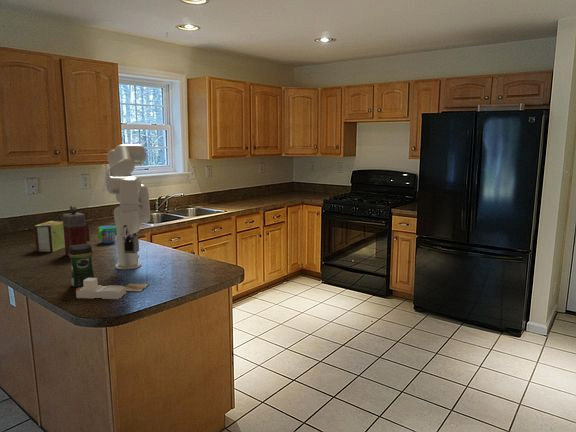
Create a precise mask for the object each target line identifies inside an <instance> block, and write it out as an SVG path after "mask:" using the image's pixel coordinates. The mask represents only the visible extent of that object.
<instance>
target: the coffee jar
mask: <svg viewBox="0 0 576 432" xmlns="http://www.w3.org/2000/svg"><path fill="white" fill-rule="evenodd" d="M93 254H94V253H93V248H92V245H91V244H90V243H87V244H79V245H72V246H70V247H69V256H68V257H69V259H70V262H71V265H70V266H71V272H70V274H71V276H70V278H71V279H70V280H71V282H70V283H71V286H72V287H74V288H82V287H83V280H85V279H87V278H96V277H95V273H94V267H93V263H92V262H93V261H92V256H93Z"/></svg>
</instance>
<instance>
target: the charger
mask: <svg viewBox="0 0 576 432" xmlns="http://www.w3.org/2000/svg"><path fill="white" fill-rule="evenodd" d="M127 237H129V236H127ZM132 242H133V251H125V242H124V252H125V253H136V252H140V242H139V235H132Z"/></svg>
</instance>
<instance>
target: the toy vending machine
mask: <svg viewBox="0 0 576 432" xmlns="http://www.w3.org/2000/svg"><path fill="white" fill-rule="evenodd" d="M69 211H70V213H63V214H62V221H63V228H64V241H65V248H64V250H65V255H66V257H67V256H68V257H69V247H70V246H72V245H79V244H88V242H90V241H91V240H90V228H89V225H88V223H86V216H85V214H84V213H81V212H78V210H77V206H76V205H70V206H69Z"/></svg>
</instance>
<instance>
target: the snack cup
mask: <svg viewBox="0 0 576 432" xmlns="http://www.w3.org/2000/svg"><path fill="white" fill-rule="evenodd" d="M97 230H98V233H97V239H98V240H99V241H101V243H102V244H113V243H115V240H116V236H117V231H116V225H101V226H98V227H97Z"/></svg>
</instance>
